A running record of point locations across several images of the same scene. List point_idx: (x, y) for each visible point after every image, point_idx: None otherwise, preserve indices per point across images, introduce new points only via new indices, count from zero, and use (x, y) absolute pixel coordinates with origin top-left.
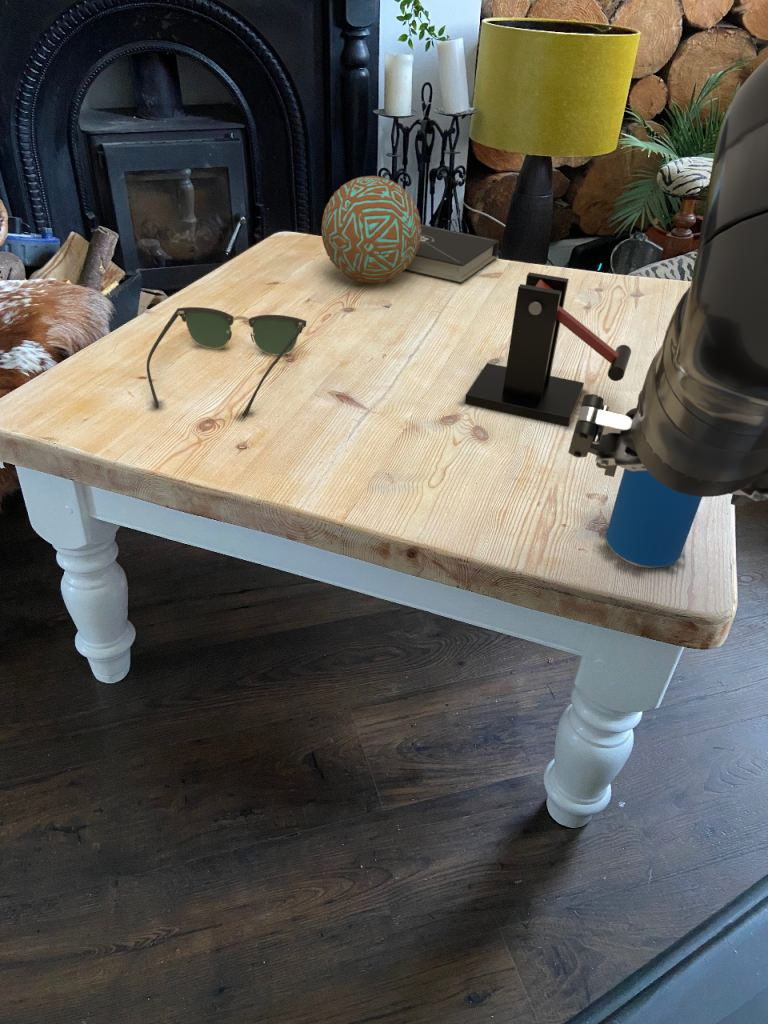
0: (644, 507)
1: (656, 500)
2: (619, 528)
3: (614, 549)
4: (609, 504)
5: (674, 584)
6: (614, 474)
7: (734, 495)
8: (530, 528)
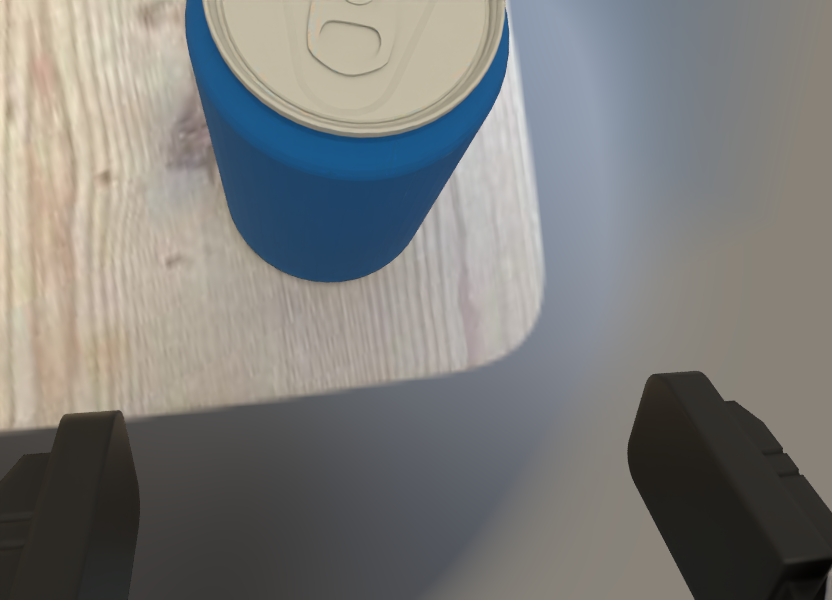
0: (306, 231)
1: (338, 224)
2: (253, 234)
3: (259, 254)
4: None
5: (427, 291)
6: (131, 571)
7: (652, 479)
8: (13, 232)
